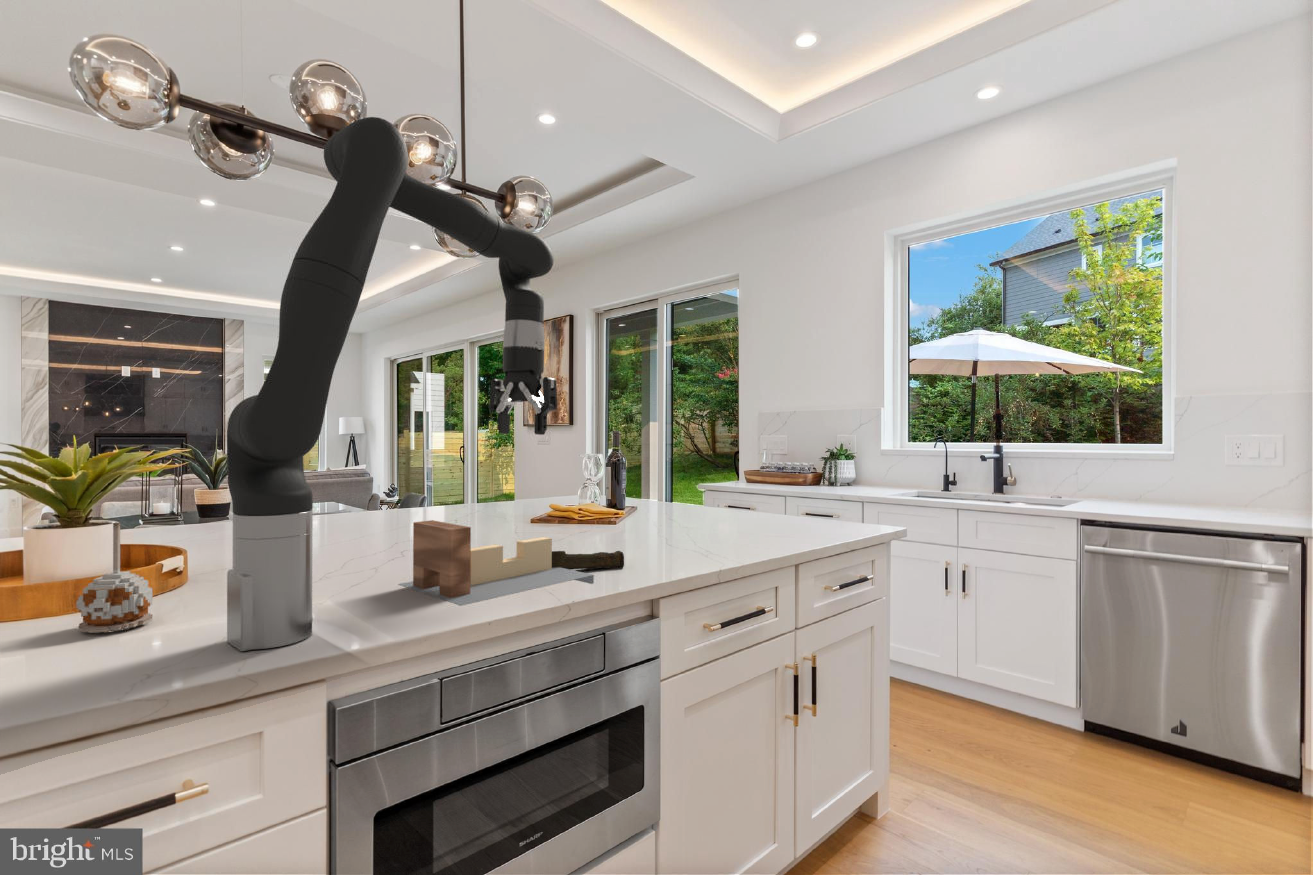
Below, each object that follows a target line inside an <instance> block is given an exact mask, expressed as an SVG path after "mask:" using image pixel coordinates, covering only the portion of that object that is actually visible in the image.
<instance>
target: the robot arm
mask: <svg viewBox="0 0 1313 875" xmlns="http://www.w3.org/2000/svg"><path fill="white" fill-rule="evenodd" d="M408 152H409V151H408V147H407V144H406V142H405V139H404V137H403V135H402V134H401V132H400V131H399V129H398V128H397V127H396V126H395V125H394V123H393V124H392V122H390V121H388V120H387V119H384V118H382V117H377V116H368V117H362V118H359V119H356V120H354V121H353V122H352V121H351V122H350V123H349V124H347V125H346V126H345V127H343V128H341V129H339V131H337V132H335V133H333V134H332V135H331V136H330V138H328V140H327V141H326V143H325V145H324V148H323V160H324V163H325V164H324V165H325V166H326V169H327V171H328V173H329V174H330V176H331V177H332V178H333V179H334V180H335V181H336V185H335V186H334V187H335V188H334V190H333V192H332V195H331V197H330V198H329V201H328V202H327V204H326V205H325V207H324V209H322V211H321V213H320V214H319V215H318V216H317V217H316V219H315V221H314V223H313V224H312V225H311V227H310V228H309V230H308V232H307V233H306V235H305V236H304V238H303V239H302V241H301V242H300V244H299V246H298V248H297V250H296V252H295V255H294V257H293V260H292V263H291V265H290V268H289V271H288V274H287V276H286V279H285V283H284V285H283V288H282V293H281V298H280V305H279V317H278V319H279V320H278V321H279V324H278V325H279V327H278V328H279V329H278V341H277V342H278V343H277V348H276V351H275V354H274V355H275V356H274V358H273V361H272V363H271V366H270V368H269V371H268V373H267V375H266V377H265V380H264V382H263V385H262V386H261V388H260V390H259V392H258V394H255V395H251V396H249V397H247V398H244V399H243V400H241V401H240V402H239V403H238V404H237V405H236V406H234V408H233V409H232V411H231V413H230V416H229V417H228V421H227V428H226V457H227V458H226V461H227V462H226V463H227V486H228V491H229V493H230V497H231V502H232V568H231V569H228V570H227V574H226V575H227V576H226V581H227V582H226V642H227V643H228V644H230V645H232V646H233V647H234V648H235V649H237V650H238V651H240V652H246V651H250V650H263V649H271V648H277V647H285V646H288V645H292V644H295V643H298V642H301V641H303V640H305V639H308V638H309V637H310V636H312V634H313V621H314V620H313V619H314V618H313V529H314V528H313V523H314V522H313V520H314V519H313V515H314V514H313V513H314V512H313V507H314V506H313V492H312V489H311V488H310V486H309V484H308V482H307V479H306V477H305V472H304V471H305V470H304V456H305V455H307V454H308V453H309V452H310V451H311V450H312V449H313V448H314V446H315V445H316V444H317V442H318V440H319V438H320V436H321V433H322V428H323V424H324V419H325V414H326V408H327V402H328V397H329V392H330V389H331V385H332V380H333V379H332V378H333V376H334V372H335V368H336V365H337V363H338V359H339V358H340V355H341V353H342V351H343V347H344V345H345V343H346V342H345V341H346V338H347V335H348V332H349V330H350V328H351V327H350V326H351V323H352V320H353V318H354V316H355V314H356V311H357V308H358V305H359V303H360V300H361V296H362V294H363V289H364V288H365V284H366V280H367V276H368V273H369V269H370V266H371V262H372V260H373V257H374V254H375V250H376V246H377V244H378V240H379V236H380V232H381V230H382V227H383V224H384V221H385V218H386V216H387V214H388V211H389V208H392V209H394V210H396V211H398V212H400V213H402V214H405V215H407V216H409V217H411V218H413V219H416V220H418V221H421V223H424V224H426V225H428V226H430V227H432V228H434V229H435V230H438V231H440V232H442V234H443V233H444V234H445V235H447V236H449V237H451V238H452V239H453V240H456V241H457V242H458V243H459V244H462V245H464V246H466V247H467V248H469V249H470V250H472V251H474V252H476V253H477V254H479V255H480V256H481V255H482V256H483V257H485V258H489V259H496V258H497V259H498V273H499V276H500V282H501V287H502V290H503V291H502V292H503V294H504V299H505V315H504V316H505V317H504V329H503V337H502V338H503V339H502V371H503V372H504V379H497V378H492V379H491V381H490V388H489V389H490V390H489V401H488V408H489V411H494V412H496V413H497V431H498V433H499V434H500V435H501V434H502V435H503V434H504V435H508V434H510V426H511V424H510V423H511V421H510V420H511V415H510V412H511V411H512V409H513V407H514V406H516V405H517V404H518V403H523V402H528V404H530V405H531V406H532V408H533V409H534V411H535V413H534V434H535V435H539V436H540V435H546V434H545V433H546V432H547V430H548V414H549V413H550V412H553V411H557V409H558V397H557V394H558V393H557V390H558V388H557V379H556V378H553V377H547V376H544V377H542V374H543V373H544V369H545V367H544V366H545V361H544V360H545V328H544V322H545V321H544V316H545V313H544V312H545V307H544V306H545V303H544V297H543V296H542V294H541V293H540V292H538V291H535V290H532V287H531V284H530V283H531V279H532V280H533V279H535V278H539V277H543V276H546V275H548V273H549V272H550V271H551V270H552V268H553V266H554V254H553V251H552V249H551V248H550V246H549V245H548V243H547V242H546V241H545V240H544V239H542V238H541V237H539V236H538V235H537V234H534V233H532V232H530V231H527V230H525V229H522V228H520V227H518V226H515V225H512V224H510V223H506V222H504V221H502V220H501V219H500V218H498V217H496V215H494V214H492V213H491V212H490V211H488V210H486V209H485V208H484V207H482V206H480V205H479V204H477V203H475V202H473V201H471V200H469V199H467V198H465V197H462V196H461V195H458V194H456V193H455V194H454V193H451V192H449V191H445V190H443V189H440V188H437V187H434V186H432V185H429V184H427V183H425V182H422V181H420V180H418V179H416V178H415V177H412V176H410V175H409V174H407V173H406V172H407V169H408V163H409V153H408ZM541 389H542V392H543V394H542V392H541Z"/></svg>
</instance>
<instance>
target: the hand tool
mask: <svg viewBox="0 0 1313 875" xmlns="http://www.w3.org/2000/svg"><path fill="white" fill-rule="evenodd" d="M552 567H561V568H565V569H570V570H586V569H587V570H589V569H595V570H596V569H612V568H613V569H615V568H617V569H624V567H625V554H624V553H623V551H621V550H615V551H613V552H606V551H605V552H604V551H599V552H594V553H566V551H565V550H554V551H553V550H552Z"/></svg>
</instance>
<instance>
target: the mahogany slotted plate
mask: <svg viewBox="0 0 1313 875" xmlns="http://www.w3.org/2000/svg"><path fill="white" fill-rule="evenodd" d="M471 528H472V527H471V526H468V525H467V526H466V525H460V524H456V523H455V524H454V523H449V522H445V521H440V520H439V521H438V520H433V519H430V520H423V521H422V520H421V521H415V522H413V532H412V533H413V534H412V535H413V536H412V537H413V540H412V541H413V542H412V543H413V544H412V545H413V546H412V547H413V549H412V550H413V551H412V552H413V553H412V554H413V555H412V556H413V557H412V558H413V559H412V562H413V563H412V565H413V567H412V581H413V586H416V587H419V588H422V589H426V588H431V587H436V586H439V594H440V595H443V596H446V597H449V598H453V597H458V596H462V595H467V594H470V561H471V548H472V547H471V540H472V539H471V538H472V537H471V536H472V535H471V534H472V533H471Z"/></svg>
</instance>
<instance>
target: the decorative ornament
mask: <svg viewBox="0 0 1313 875" xmlns="http://www.w3.org/2000/svg"><path fill="white" fill-rule="evenodd" d="M112 532H113V533H112V572H108V573H106V574H103V575H102V576H100V577H97V578H93V580H92V582H90V583H88V584H87V586H86V587H83V589H82V594H81V595H79V596H78V598H77V599H78V600H76V602H75V603H76V610H78V612H79V613H80V616H81V617H82V622H80V623H79V624H78V626H77V630H78V631H80V632H81V633H89V634H90V633H91V634H92V633H95V634H96V633H97V634H100V633H101V632H104V633H110V632H109V631H116V632H118V631H117V630H122V629H125V630H128V629H127V628H131V629H132V627H133V628H135V627H137V626H142V625H145V624H147V623H149V622H151V621H153V614H152V613H149V607H150V606H153V587H151V586H149V580H147V579H145V577H144V576H140V574H136V573H131V570H130V571H129V570H128V571H124V570H123V571H121V521H120V522H113V523H112ZM122 631H123V630H122ZM99 632H100V633H99ZM101 634H102V633H101Z"/></svg>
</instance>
